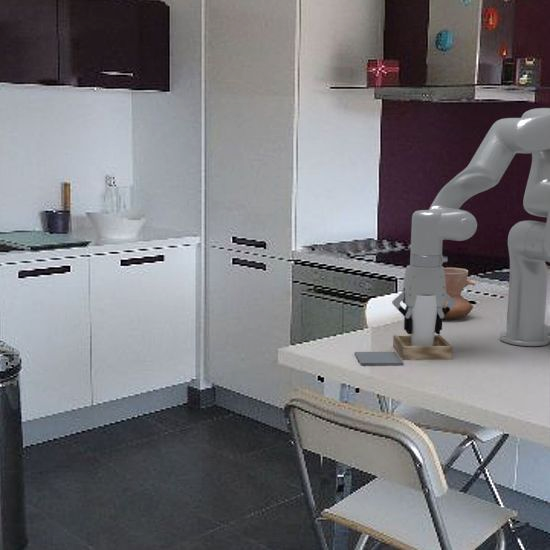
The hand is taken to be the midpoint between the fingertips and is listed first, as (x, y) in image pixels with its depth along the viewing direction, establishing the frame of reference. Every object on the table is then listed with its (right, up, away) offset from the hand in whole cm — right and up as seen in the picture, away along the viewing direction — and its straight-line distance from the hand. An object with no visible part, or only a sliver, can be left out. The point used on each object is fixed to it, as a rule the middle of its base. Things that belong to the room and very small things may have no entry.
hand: (422, 332), depth 209 cm
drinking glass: (0, -5, +1) cm, 5 cm away
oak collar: (0, -5, +1) cm, 5 cm away
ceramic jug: (+13, +2, +41) cm, 43 cm away
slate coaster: (-12, -6, -6) cm, 14 cm away
